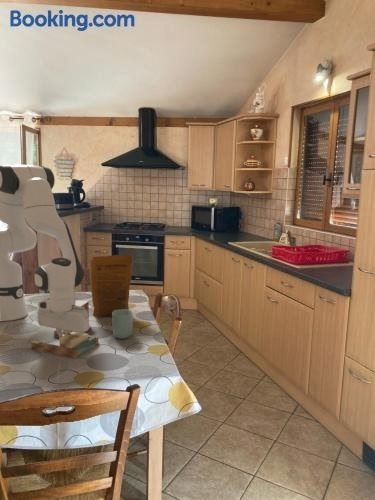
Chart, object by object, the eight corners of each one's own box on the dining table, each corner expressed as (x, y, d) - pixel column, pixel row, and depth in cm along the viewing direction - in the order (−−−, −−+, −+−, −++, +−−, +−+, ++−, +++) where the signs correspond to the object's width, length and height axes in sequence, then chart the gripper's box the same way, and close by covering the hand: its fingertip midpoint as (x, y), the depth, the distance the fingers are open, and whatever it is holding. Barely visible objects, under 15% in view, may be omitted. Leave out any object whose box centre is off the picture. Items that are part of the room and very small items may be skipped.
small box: (80, 332, 157) (80, 306, 155) (67, 330, 158) (67, 305, 156) (89, 325, 165) (89, 301, 163) (77, 324, 166) (76, 300, 164)
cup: (113, 341, 149) (112, 316, 147) (111, 333, 156) (111, 309, 154) (133, 339, 151) (133, 314, 149) (131, 332, 158) (131, 308, 156)
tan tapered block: (59, 350, 139) (59, 337, 138) (76, 343, 146) (76, 330, 145) (72, 354, 136) (71, 341, 136) (88, 346, 143) (88, 333, 143)
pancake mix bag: (133, 316, 177) (133, 255, 172) (90, 319, 172) (89, 256, 167) (131, 311, 183) (132, 252, 179) (89, 314, 178) (88, 253, 174)
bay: (30, 348, 140) (30, 340, 140) (56, 335, 153) (56, 327, 153) (75, 358, 134) (75, 349, 133) (98, 343, 147) (98, 335, 146)
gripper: (92, 304, 140) (93, 341, 143) (46, 297, 147) (47, 332, 150) (81, 310, 135) (82, 348, 137) (34, 302, 142) (35, 338, 144)
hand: (63, 340), depth 143 cm, fingers closed
